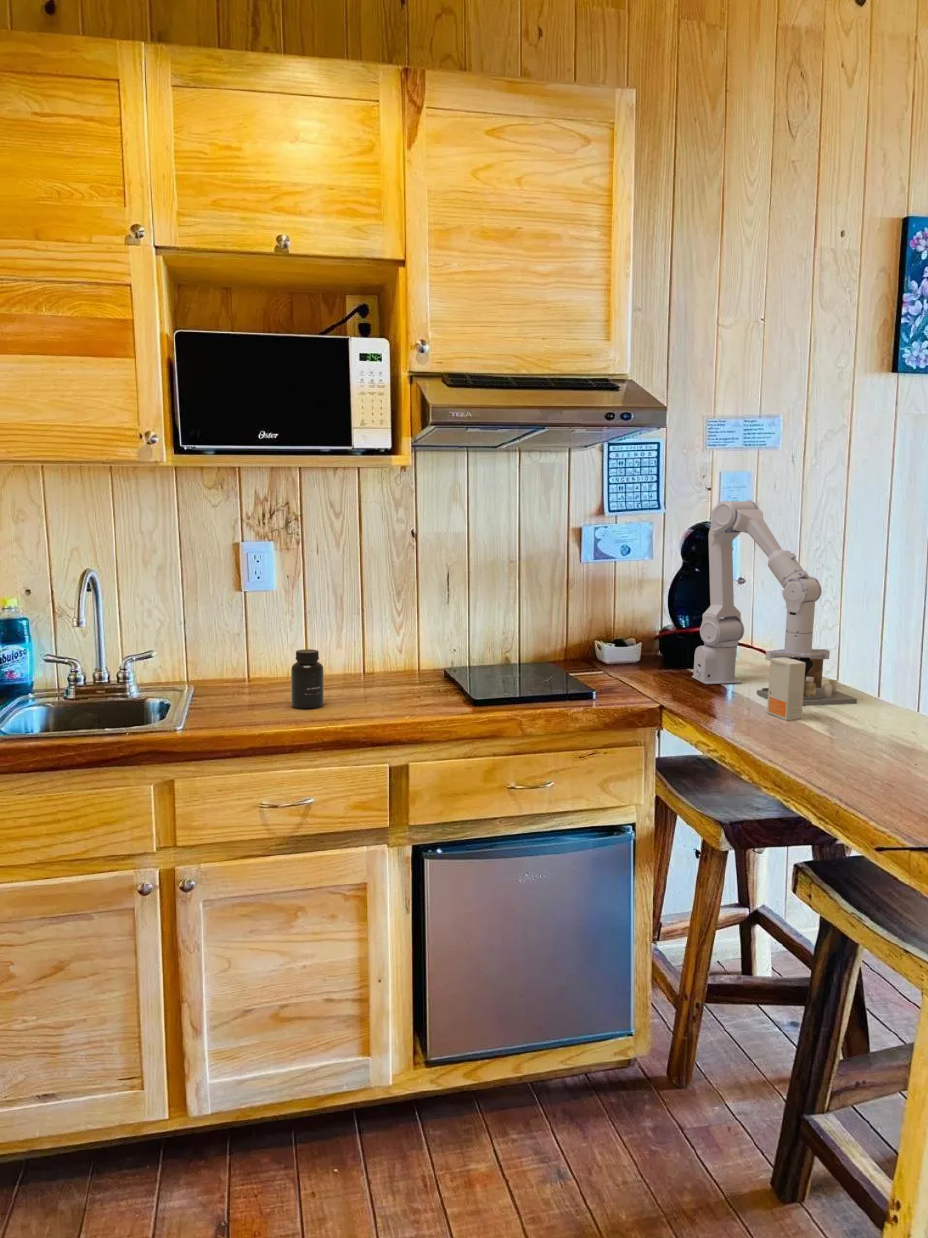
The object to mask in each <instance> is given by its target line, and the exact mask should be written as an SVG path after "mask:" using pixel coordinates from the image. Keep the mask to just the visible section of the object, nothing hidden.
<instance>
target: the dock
mask: <svg viewBox="0 0 928 1238" xmlns="http://www.w3.org/2000/svg"><path fill="white" fill-rule="evenodd" d="M806 680H807V681H809V682H812V683H813V682H814V678H813V677H806ZM837 684H838V680H836V679H829V682H828V683H824V685H823V687H821V688H816V695H815V697H808V696H805V695H803V706H820V705H821V706H823V705H824V706H825V705H845V704H846V705H847V704H848V705H849V704H857V702H858V699H857V698H856V697H853V696H851V695H848V694H845V693H843V692H840V691H838V690H837V688H838V687H837ZM768 690H769V687H762V688H761V689H757V690H756V695H757V696H759V697H762V698H764V699H766V700H768Z"/></svg>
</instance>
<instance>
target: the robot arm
mask: <svg viewBox="0 0 928 1238" xmlns="http://www.w3.org/2000/svg"><path fill="white" fill-rule="evenodd" d="M710 514H711V519H710V520H711V525H710V527H709V531H708V561H709V562H708V564H709V568H708V569H709V599H710V601H709V602H710V605H709V606H708V608H707V609H706V610H705V612H703V613H702V621H701V625H700V627H699V635H700V638H701V640H702V641H703V644H704V645H699V646H697V647H696V648H695V651H694V655H693V657H694V660H693V675H691V677H692V678H693V679H695V680H697V681H698V682H701V683H703V684H705V685H719V684H724V685H725V684H742V680H740V679H738V678H736V677H735V675H736V661H737V646H738V645H739V641H741V640H742V639H743V637H744V635H745V627H744V626H745V625H744V623H743V621H742V616H741V611H740V610H739V609H738V608H737V607H736V605H735V603H734V601H735V600H734V599H735V598H734V597H735V596H734V563H733V561H734V560H733V555H734V554H733V541H734V540H735V539H736V537H738V536H739V535H740V534H741V533H745V534H748V535H749V536H750V537H751V538H752V540H753V541H754V542H755V543H756V545H757V546H758V547H759V548H760V550H761V551H762V552H763V553H764V554H765V556H767V558H768V561H767V566H768V568H769V570H770V572H771V573H772V574H773V576H774V577H775V578H776V580H777V581H778V583H779V584H780V585H781V587H782V588H783V589H782V590H781V594H782V597H783V600H784V602H785V609H786V622H785V637H784V648H783V649H775V650H766V651H765V660H766V661H769V662H771V658H783V657H786V658H789V659H795V660H798V661H801V662H805V663H806V666H805V677H806V675H807V673H808V672H809V670H810V669H811V668H812V666H813V661H810V659H823V660H829V659H830V654H831V653H830V652H831V651H830V650H829V649H825V648H823V649H821V648H819V649H818V648H817V649H816V648H813V637H814V623H815V610H816V609H815V607H816V602H818V600H819V599H820V597H821V596H822V585H821V583H820V582H819V579H818V578H816V577H814V576H811V575H809V573H808V572H807V571H806V570H804V569H803V567H802V565H800V563H799V562H798V560H797V555H796V554H795V553H794V552H792V553H791V551H790V550H784V549H782V548H781V545H780V544H779V543H778V541H777V539H776V537H775V536H774V534H773V533H772V530H770V528H769V526H768V525H767V522H766V521H765V519H764V513H763V511H762V510H761V509H760V507H759V506H758V505H757V503H756V502H755V501H752V500H745V501H741V500H740V501H739V500H738V501H737V500H736V501H730V500H723V501H719V503H717V504H716V506H715V507H713V509H711V512H710ZM804 679H805V678H804Z"/></svg>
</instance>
